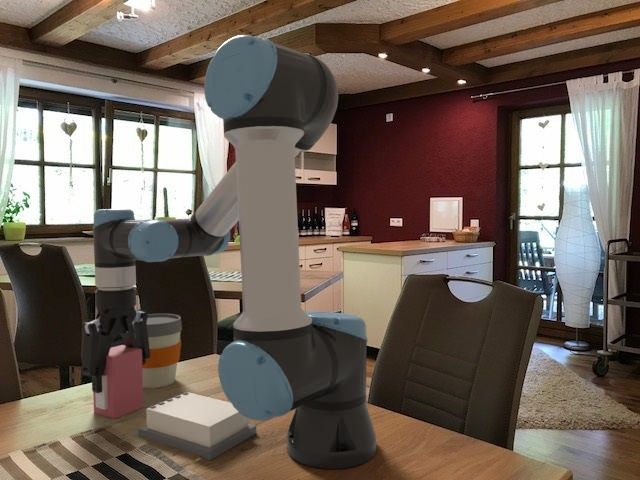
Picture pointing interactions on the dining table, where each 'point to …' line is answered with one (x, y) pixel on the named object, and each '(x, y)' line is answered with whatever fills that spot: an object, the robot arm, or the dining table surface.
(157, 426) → the white notepad
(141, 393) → the pink block
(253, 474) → the dining table surface
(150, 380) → the reusable coffee cup
